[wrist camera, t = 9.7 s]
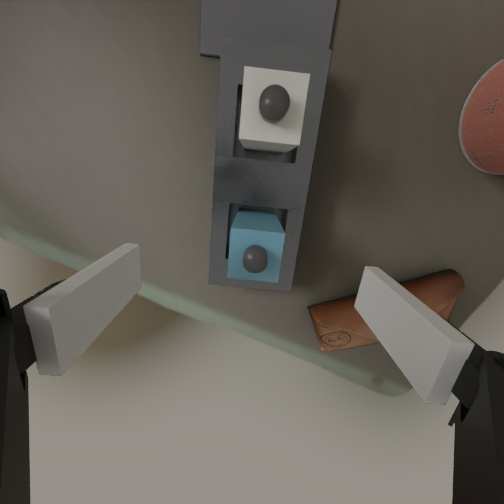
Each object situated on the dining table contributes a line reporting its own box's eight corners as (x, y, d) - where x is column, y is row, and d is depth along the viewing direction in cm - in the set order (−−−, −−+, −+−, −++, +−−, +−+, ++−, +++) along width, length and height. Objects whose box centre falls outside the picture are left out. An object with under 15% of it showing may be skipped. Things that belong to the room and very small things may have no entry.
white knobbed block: (244, 150, 26) (237, 136, 15) (248, 106, 24) (243, 57, 14) (282, 154, 26) (302, 143, 15) (288, 111, 24) (314, 65, 14)
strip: (286, 276, 31) (290, 291, 27) (214, 269, 30) (208, 283, 27) (319, 69, 24) (331, 49, 20) (226, 58, 24) (221, 36, 20)
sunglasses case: (320, 356, 34) (326, 368, 28) (304, 306, 36) (307, 307, 29) (453, 322, 32) (493, 327, 26) (431, 271, 34) (463, 264, 28)
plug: (236, 242, 29) (225, 284, 18) (239, 207, 27) (229, 231, 17) (270, 245, 29) (279, 289, 18) (274, 211, 28) (287, 237, 17)
